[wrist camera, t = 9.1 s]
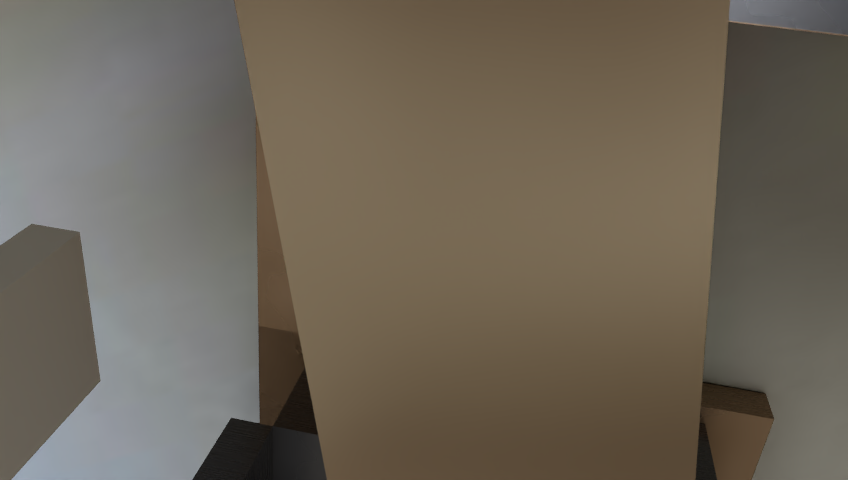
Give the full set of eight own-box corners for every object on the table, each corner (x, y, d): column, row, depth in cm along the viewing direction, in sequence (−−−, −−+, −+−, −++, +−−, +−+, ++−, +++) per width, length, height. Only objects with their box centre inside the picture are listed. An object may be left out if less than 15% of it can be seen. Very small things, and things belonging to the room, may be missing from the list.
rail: (338, -186, 12) (192, -212, 7) (682, -229, 11) (750, -286, 6) (433, 567, 19) (386, 787, 14) (648, 584, 18) (670, 828, 13)
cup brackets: (269, -421, 14) (21, -642, 8) (1046, -376, 12) (1508, -609, 6) (272, 482, 24) (165, 699, 18) (700, 571, 22) (745, 843, 16)
